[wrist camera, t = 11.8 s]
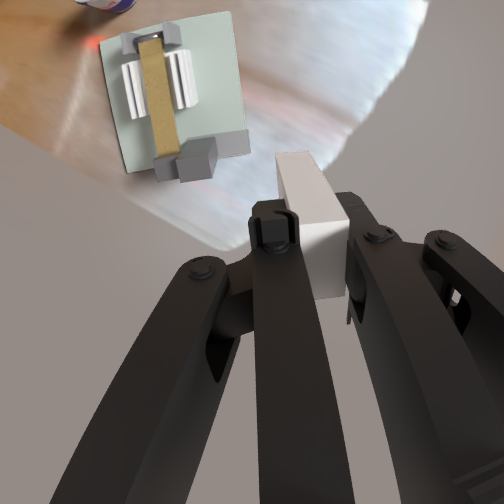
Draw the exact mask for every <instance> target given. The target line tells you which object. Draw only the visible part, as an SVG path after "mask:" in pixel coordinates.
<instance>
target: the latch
mask: <svg viewBox="0 0 504 504" xmlns="http://www.w3.org/2000/svg"><path fill="white" fill-rule="evenodd" d="M217 158H218V151H217V145H216V138H215V137H208V138H202V139H196V140H189V141H188V142H187V144H186V145H185V147H184V148H183V150H182V151H181V153H178V154H172V155H167V156H161V157H156V158H154V159H153V160H152V161H153V165H154V169H155V174H156V178H157V182H159V181H165V180H171V179H177V178H180V183H183V182H189V181H196V180H203V179H210V178H212V177H213V173H214V170H215V166H216V162H217Z"/></svg>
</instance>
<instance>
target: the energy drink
mask: <svg viewBox="0 0 504 504" xmlns="http://www.w3.org/2000/svg"><path fill="white" fill-rule="evenodd" d="M74 1H75V2H77V3H78V4H81V5H86V6H90V7H95V8H99V9H103V10H107V11H111V12H115V13H120V12H124V11H126V10H128V9H130V8H131V7H132V6H133V5H134V4H135V2H136V1H137V0H74Z"/></svg>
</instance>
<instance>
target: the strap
mask: <svg viewBox="0 0 504 504" xmlns="http://www.w3.org/2000/svg"><path fill="white" fill-rule="evenodd" d="M163 40H164V34H163V30H162V31H158V32H154V33H150V34H146V35H142V36H139V37H135V38H134V44H135V46H136V47H139V53H140V58H141V63H142V69H143V76H144V82H145V88H146V94H147V100H148V105H149V111H150V117H151V122H152V127H153V132H154V138H155V143H156V148H157V153H158V157H161V156H167V155H172V154H178V153H181V148H180V143H179V137H178V132H177V126H176V120H175V115H174V109H173V103H172V97H171V90H170V84H169V78H168V71H167V65H166V58H165V49H164V42H163Z"/></svg>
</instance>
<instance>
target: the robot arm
mask: <svg viewBox="0 0 504 504" xmlns="http://www.w3.org/2000/svg"><path fill="white" fill-rule="evenodd" d="M275 159H276V169H277V180H278V191H279V199H276V200H267V201H257V203H256V204H255V205H254V206H253V208H252V216H251V217H250V218H249V221H248V228H249V235H250V242H251V249H252V251H251V253H250V254H249V255H247V256H246V257H245V258H243V259H242V260H240V261H237V262H235V263H232V264H229V265H226V264H225V262H224V261H223V260H221V259H220V258H218V257H214V256H203V257H202V256H201V257H197V258H194V259H191V260H189V261H188V262H186V263H184V264H183V265H182V266H181V267H180V268H179V269H178V271H177V273H176V274H175V276H174V277H173V279H172V281H171V282H170V284H169V285H168V287H167V289H166V290H165V292H164V294H163V295H162V297H161V298H160V300H159V302H158V304H157V305H156V307H155V308H154V310H153V312H152V313H151V315H150V317H149V318H148V320H147V322H146V323H145V325H144V327H143V328H142V330H141V332H140V333H139V336H138V337H137V339H136V341H135V342H134V344H133V345H132V347H131V349H130V351H129V352H128V354H127V356H126V358H125V359H124V361H123V363H122V365H121V366H120V368H119V370H118V372H117V373H116V375H115V377H114V379H113V381H112V382H111V384H110V386H109V388H108V390H107V391H106V393H105V395H104V397H103V399H102V401H101V402H100V404H99V406H98V408H97V410H96V412H95V413H94V415H93V417H92V419H91V421H90V423H89V425H88V427H87V428H86V431H85V432H84V434H83V436H82V438H81V440H80V442H79V444H78V446H77V448H76V450H75V452H74V454H73V456H72V458H71V460H70V462H69V464H68V466H67V468H66V470H65V472H64V474H63V476H62V478H61V480H60V482H59V484H58V486H57V488H56V490H55V493H54V495H53V497H52V499H51V501H50V503H49V504H185V503H186V500H187V497H188V495H189V492H190V489H191V486H192V483H193V480H194V477H195V474H196V472H197V469H198V466H199V463H200V460H201V457H202V454H203V451H204V448H205V445H206V442H207V439H208V436H209V434H210V431H211V427H212V425H213V422H214V418H215V416H216V413H217V410H218V407H219V404H220V401H221V398H222V395H223V392H224V389H225V386H226V383H227V379H228V377H229V374H230V370H231V367H232V364H233V361H234V358H235V355H236V352H237V349H238V346H239V343H240V338H241V335H243V334H246V333H249V332H252V331H254V338H255V339H254V340H255V370H256V400H257V401H256V403H257V430H258V431H257V432H258V462H259V463H258V464H259V493H260V494H259V495H260V504H355V500H354V493H353V488H352V481H351V476H350V470H349V463H348V458H347V452H346V447H345V441H344V436H343V430H342V425H341V420H340V415H339V410H338V405H337V400H336V395H335V390H334V385H333V380H332V376H331V371H330V367H329V362H328V357H327V353H326V348H325V344H324V339H323V335H322V331H321V326H320V322H319V318H318V313H317V309H316V305H315V301H314V300H317V299H326V298H334V297H341V296H345V287H346V284H347V287H348V290H349V302H348V311H347V324H350V321H351V317H352V319H353V322H354V325H355V328H356V331H357V334H358V337H359V340H360V344H361V347H362V350H363V353H364V357H365V360H366V363H367V367H368V370H369V374H370V377H371V380H372V384H373V388H374V391H375V395H376V398H377V402H378V405H379V409H380V413H381V417H382V420H383V425H384V429H385V432H386V436H387V440H388V444H389V449H390V453H391V457H392V461H393V466H394V470H395V475H396V479H397V484H398V489H399V493H400V499H401V504H504V272H502V271H501V270H500V269H499V268H498V267H497V266H495V265H494V264H493V263H492V262H491V261H489V260H488V259H487V258H486V257H485V256H483V255H482V254H481V253H480V252H479V251H477V250H476V249H475V248H474V247H472V246H471V245H470V244H469V243H467V242H466V241H465V240H464V239H462V238H461V237H459V236H458V235H456V234H454V233H451V232H449V231H446V230H444V231H443V230H436V231H431V232H429V233H427V235H426V237H425V240H424V244H417V243H407V242H403V241H402V239H401V238H400V237H399V235H398V234H397V233H396V232H395V231H394V230H393V229H391V228H389V227H387V226H383V225H379V224H378V222H377V221H376V219H375V218H374V216H373V215H372V213H371V212H370V211H369V210H368V208H367V206H366V205H365V204H364V202H363V201H362V199H361V198H360V197H359V196H357V195H355V194H354V193H352V192H342V193H334V192H333V190H332V189H331V187H330V185H329V184H328V182H327V181H326V179H325V177H324V175H323V174H322V172H321V170H320V169H319V167H318V165H317V164H316V162H315V160H314V159H313V157H312V156H311V154H310V152H309V151H296V152H285V153H275ZM455 289H456V290H457V291H458V292H459V293H460V294H461V298H460V300H459V303H458V304H457V303H455V302H454V301H453V300H452V296H453V293H454V290H455Z"/></svg>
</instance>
